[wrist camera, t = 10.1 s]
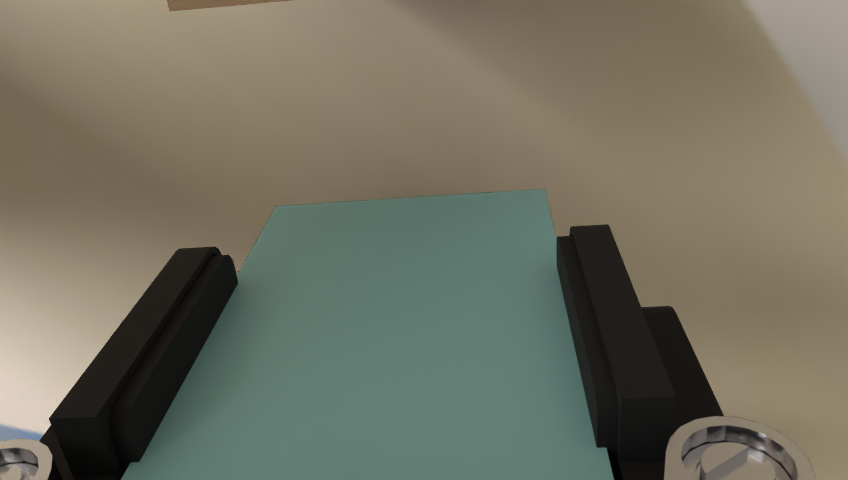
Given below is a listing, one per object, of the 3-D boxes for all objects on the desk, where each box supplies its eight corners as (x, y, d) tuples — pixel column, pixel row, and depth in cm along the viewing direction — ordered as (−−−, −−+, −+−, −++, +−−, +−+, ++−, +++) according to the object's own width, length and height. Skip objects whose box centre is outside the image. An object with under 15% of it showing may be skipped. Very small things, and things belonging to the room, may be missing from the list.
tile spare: (276, 205, 14) (-87, 845, 5) (544, 188, 13) (704, 860, 4) (290, 279, 14) (0, 952, 5) (546, 265, 14) (685, 975, 5)
